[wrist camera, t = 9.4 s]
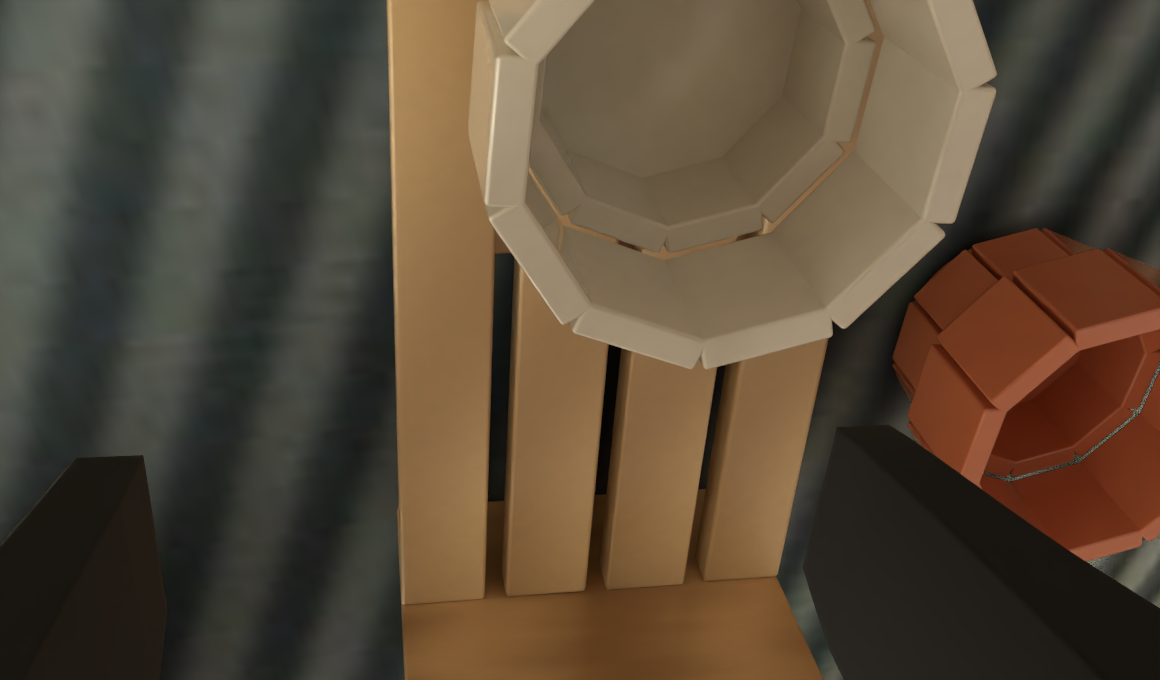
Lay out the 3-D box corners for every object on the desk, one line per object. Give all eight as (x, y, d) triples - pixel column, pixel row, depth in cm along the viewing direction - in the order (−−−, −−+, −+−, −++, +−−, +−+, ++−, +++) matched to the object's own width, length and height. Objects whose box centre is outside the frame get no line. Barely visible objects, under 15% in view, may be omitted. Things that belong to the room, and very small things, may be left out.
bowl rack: (397, 526, 24) (408, 758, 19) (374, -371, 15) (383, -384, 10) (732, 505, 25) (825, 717, 20) (882, -329, 17) (1108, -322, 12)
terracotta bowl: (1018, 455, 26) (1131, 591, 22) (814, 390, 24) (899, 528, 20) (1173, 252, 24) (1328, 365, 20) (960, 161, 21) (1088, 268, 18)
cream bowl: (731, 258, 18) (830, 414, 14) (391, 136, 16) (402, 282, 12) (919, -75, 16) (1096, 9, 12) (548, -268, 14) (621, -240, 10)
